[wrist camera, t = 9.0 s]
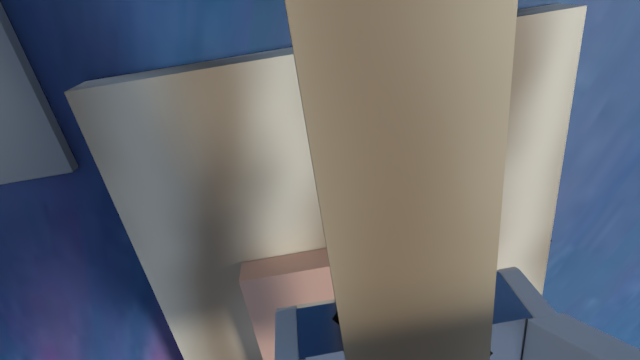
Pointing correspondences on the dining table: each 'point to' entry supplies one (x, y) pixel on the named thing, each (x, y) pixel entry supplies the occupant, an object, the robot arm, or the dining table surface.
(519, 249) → the board
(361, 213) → the turner
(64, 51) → the dining table surface
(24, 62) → the mat
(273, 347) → the tile
